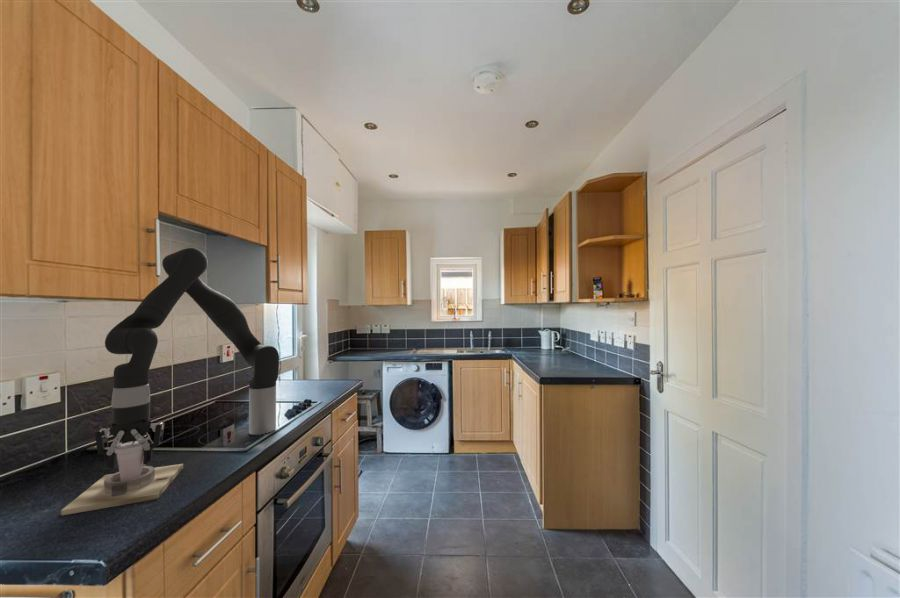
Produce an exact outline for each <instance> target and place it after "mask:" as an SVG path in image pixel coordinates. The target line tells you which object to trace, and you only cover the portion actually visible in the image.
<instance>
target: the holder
mask: <svg viewBox="0 0 900 598" xmlns="http://www.w3.org/2000/svg"><path fill="white" fill-rule="evenodd" d="M183 469H184V463H179V464H171V465H164V466H157V467H154V466H152V465H147V464H145V465H144V463H143V465H142V471H141V476H140V477H138V478H134V479H131V480H127V481H121V479H120V473H119V471H117V472H115V473H111V474H110V473H109V474H104V475H103V476H102V477H101V478H100V479H98V480H97V481H96V482H95V483H93V484H92V485H91V486H90V487H88V488H87V489H86V490H85V491H83V492H82V493H81V494H79V495H78V496H77V497H75V498H74V499H73V500H72V501H70V503H68V504H67V505H66V506H65V507H63V508H62V509H61V510H60V516H67V515H72V514H77V513H78V514H79V513H83V512H90V511H95V510H102V509H107V508H111V507H118V506H125V505H129V504H135V503H141V502H149V501H154V500H158V499H159V498H160V497H161V496H162V495H163V493H164V492H165V491H166V489H167V488H168V487H169V486H170V484H171V483H172V482H173V481H174V480H175V478H176V477H177V476H178V475H179V473H181V471H182V470H183Z"/></svg>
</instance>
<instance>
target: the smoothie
mask: <svg viewBox="0 0 900 598" xmlns="http://www.w3.org/2000/svg"><path fill="white" fill-rule="evenodd" d="M144 451H145V449H144V448H143V445H141V444H139V442H138V441H128V442H125V443H122V444H121V445H119V446H117V448H115V453H116V454H117V460H118V466H117V468H118V472H119V473H120V479H121V481H127V480H131V479H134V478H138V477H140V476H141V471H142V465H143V464H144Z"/></svg>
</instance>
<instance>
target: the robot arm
mask: <svg viewBox="0 0 900 598" xmlns="http://www.w3.org/2000/svg"><path fill="white" fill-rule="evenodd" d="M208 266H209V260H208V257H207V256H206V254H205V253H204V252H203V251H202V250H200V249H199V248H194V247H187V248H183V249H180V250H178V251H175V252H172V253H171V254H168V255H166V256H165V257H164V258H163V259H162V267H163V270H164V271H165V273H166V275H167V276H168V277H166V279H164V280H163V281H162V282H161V283H160V284H158V285H157V286H156V287H154V288H153V289H152V290H151V291H150V292H149V293H148V294H147V295H146V296H145V297H144V299H143V300H142V301H140V304H139V305H138V306H137V308H135V310H134V312H133V313H131V314H129V315H127V316H126V317H125V318H124V319H123V320H122V321H120V322H119V323H117V324H116V325H114V327H113V328H112V329H110V331H108V333H107V335H106V337H105V339H104V347H105V349H106V351H108V353H111V354H114V355H131V357H130V359H129V361H128V362H125V363H120V364H119V365H116V366H115V367H114V370H113V375H112V376H113V381H112V383H113V390H112V394H111V401H110V405H111V426H110V427H108V428H100V429H99V430H97V431H96V432H95V433H94V436H95V444H96V450H97V454H98V455H102V454H103V455H106V456H107V467H108V468H110V470H114V469H115V470H116V469H117V468H118V460H117V454H116V453H115V448H117V446H119V445H121V444H124V443H127V442H132V441H138V442H139V444H141V445H143V448H144V449H145V451H144V459H143V464H144V465H145V464H146V465H148V464H150V463H151V462H152V460H153V459H154V449H155V448H156V447H158V446H160V445H161V444H162V443H163V438H164V432H165V431H164V430H165V421H161V422H159V423H158V422H157V423H156V422H155V423H152V421H151V388H150V367H151V365H152V361H153V359H154V355H155V353H156V350H157V347H158V344H159V340H158V335H157V334H156V332H155V331H154V330H153V329H157V328H159V327H161V326H162V324H163V323H164V322H165V321H166V319H167V318H168V316H169V315H170V313H171V311H172V310H173V308H174V307H175V306H176V304H177V302H178V301H179V300H180V299H181V298H182V296H183V295H184V294H185V293H186V295H188V296H189V297H190V298H191V299H192V300H193V301H194V302H195V304H197V305H198V306H199V308H200V309H201V310H202V311H203V312H204V313H205V314H206V316H207V317H208V318H209V319H210V320H211V321H212V323H214V325H215V326H216V327H217V328H218V329H219V331H220V332H222V333H223V335H224V336H225V337H226V338H227V339H228V340H229V341H230V342H231V343H232V344H233V345H234V347H235V348H236V349H237V350H238V352H239V353H240V355H241V357H243V359H244V360H245V362H246V363H247V365H248V366H250V367H251V368H254V373H253V378H251V379H250V380H249V383H248V434H249V435H251V436H262V434H263V435H266V434H265V433H267V434H269V433H268V432H270V433H272V432H271V431H273V430H275V429H276V430H277V380H278V378H279V371H280V370H279V369H280V356H279V351H278V349H277V348H276V347H274V346H272V345H266V344H263V343H261V342H260V340H258V338H257V337H255V335H254V334H253V333H252V331H251V330H250V327H249V324H248V321H247V317H246V316H245V314H244V313H243V312H242V311H243V310H241V308H240V307H239V306H238V304H236V302H234V301H233V300H232V298H230V297H228V296H226V295H225V294H223V293H221V292H219V291H217V290H215V289H213V288H211V287H210V286H209V285H207V284H206V283H205V282H204V281H203V280H202V279H201V278H200V276H202V275H203V274H204V273H205V272H206V270H207V269H208ZM150 429H152V432H154V435H153V440H152V439H151V435H150V434H149V433H148V432H149V431H150ZM276 430H275V431H276ZM273 432H274V431H273ZM110 434H111V436H113V438H114V439H113V441H112V443H111V444H110V446H109V440H108V437H109V436H110Z"/></svg>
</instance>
